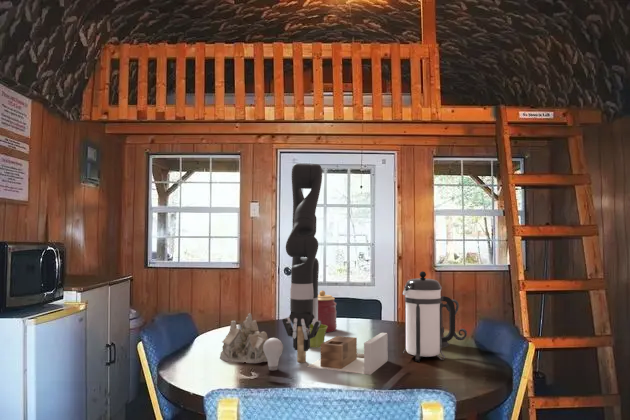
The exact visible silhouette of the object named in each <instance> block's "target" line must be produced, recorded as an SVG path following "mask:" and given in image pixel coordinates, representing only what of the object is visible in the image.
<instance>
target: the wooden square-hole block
mask: <svg viewBox="0 0 630 420" xmlns="http://www.w3.org/2000/svg"><path fill="white" fill-rule="evenodd" d="M357 338H358V337H352V336H351V337H350V336H342V335H341V336H340V335H336V336H334V337H332V338H331V339H328V340H326V341H324V343H322V344H321V347H320V359H321V367H329V368H337V369H342V368H344V367H345V366H347V365H348V364H350V363H351V362H353V361H354V360H356V359H357V351H358V349H357V347H358V346H357V345H358V342H357V341H358V339H357Z"/></svg>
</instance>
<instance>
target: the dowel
mask: <svg viewBox="0 0 630 420" xmlns="http://www.w3.org/2000/svg"><path fill="white" fill-rule="evenodd" d="M304 340H305V339H304V333H303V329H302V327H301V326H298V328H297V350H296V351H297V352H296V356H297V357H296V362H297V363H301V364H304V363H306V361H307V351H304Z"/></svg>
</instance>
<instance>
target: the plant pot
mask: <svg viewBox="0 0 630 420" xmlns="http://www.w3.org/2000/svg"><path fill="white" fill-rule="evenodd" d="M313 327H314V326H313V324H311V325H310V329H311V331H312V329H313ZM327 327H328V326H326V325H322V324H321V325H320V328H319V330H318V332H317V334H316V336H315V337H313V338H311V339H310V348H312V349H313V348H321V344H322V343H324V342H325V337H326V333H327V332H326V329H327ZM311 331H310V333H311Z"/></svg>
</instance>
